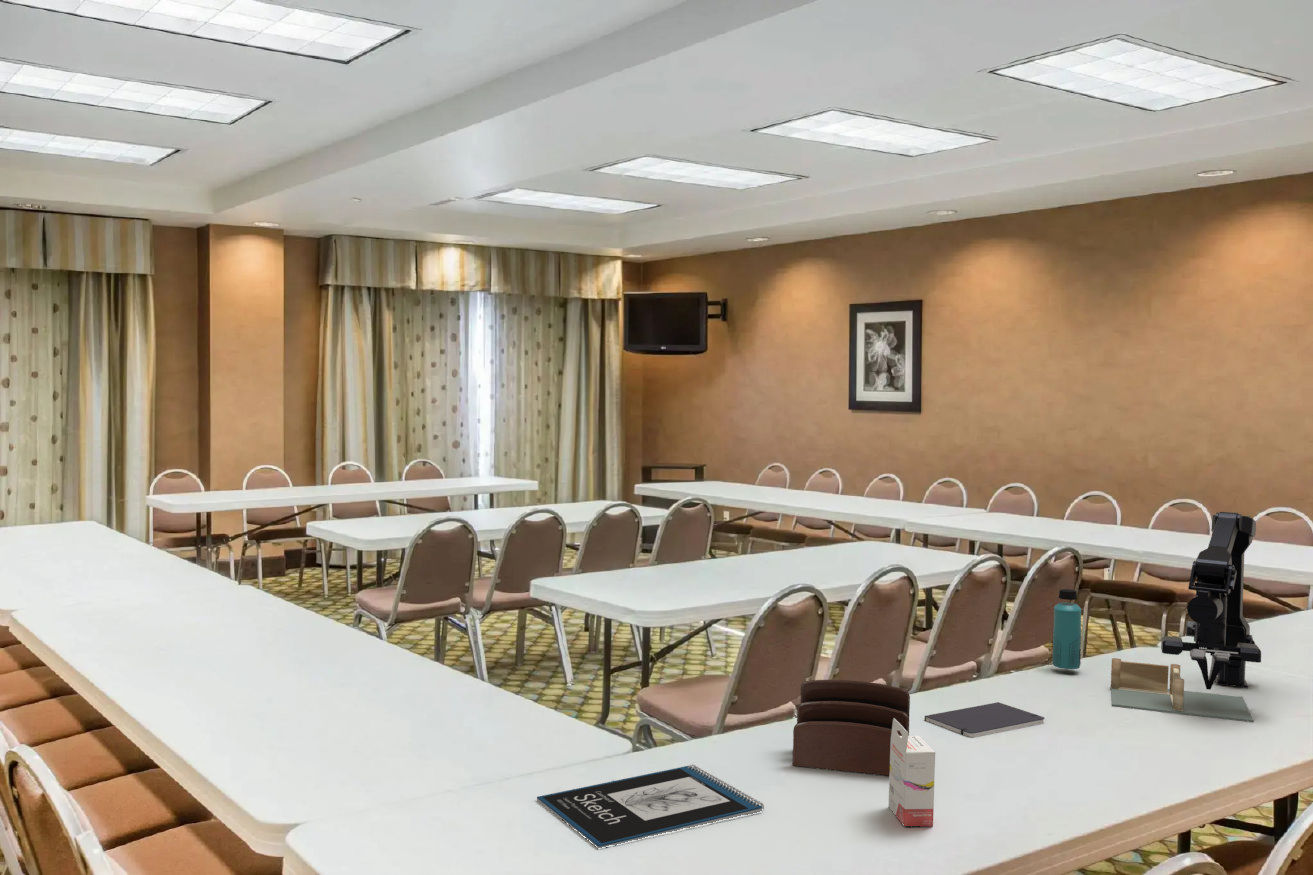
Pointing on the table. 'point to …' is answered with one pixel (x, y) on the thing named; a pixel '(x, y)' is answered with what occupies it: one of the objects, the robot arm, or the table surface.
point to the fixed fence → (1141, 676)
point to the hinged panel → (1177, 690)
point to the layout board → (1184, 703)
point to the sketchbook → (648, 805)
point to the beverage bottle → (1067, 632)
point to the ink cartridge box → (911, 778)
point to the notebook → (985, 719)
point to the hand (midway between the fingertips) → (1208, 689)
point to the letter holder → (848, 725)
